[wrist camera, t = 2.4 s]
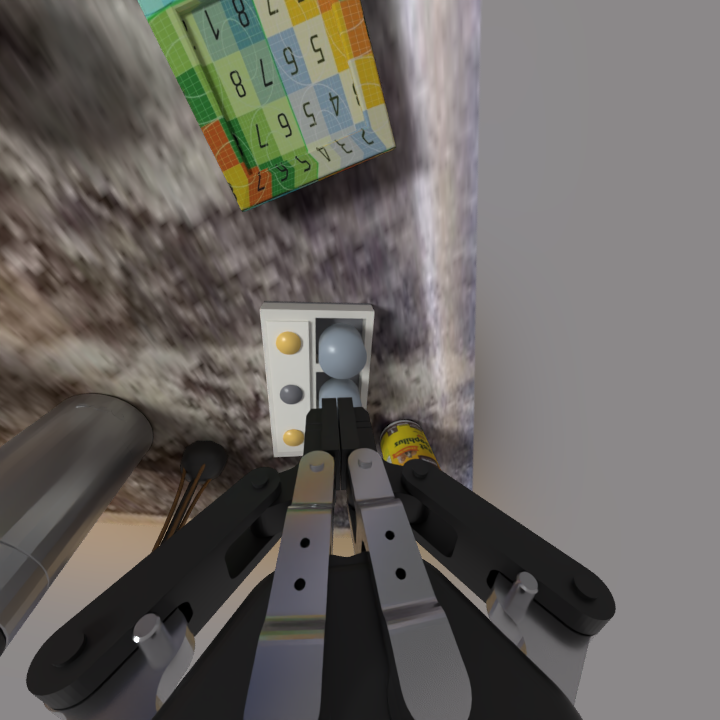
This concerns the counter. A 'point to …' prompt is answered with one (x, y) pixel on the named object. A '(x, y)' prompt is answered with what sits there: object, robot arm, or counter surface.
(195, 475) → the wooden tabletop sculpture
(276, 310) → the button board
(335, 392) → the button middle
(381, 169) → the counter surface
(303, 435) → the card
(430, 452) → the supplement bottle
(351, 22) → the puzzle game
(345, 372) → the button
